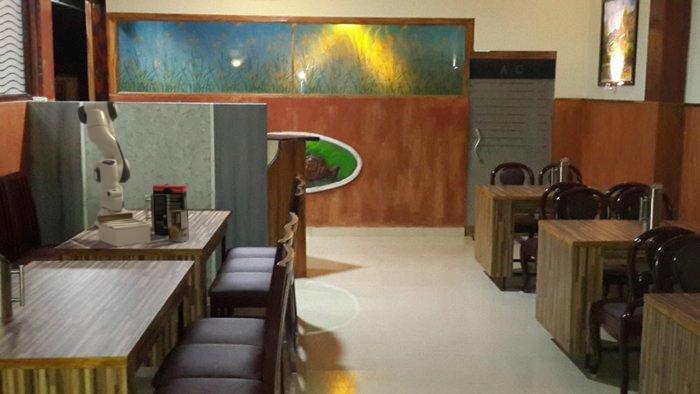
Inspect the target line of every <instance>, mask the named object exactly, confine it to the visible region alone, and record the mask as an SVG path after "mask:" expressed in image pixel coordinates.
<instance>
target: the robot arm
mask: <svg viewBox="0 0 700 394" xmlns="http://www.w3.org/2000/svg"><path fill="white" fill-rule="evenodd" d="M119 110H120V109H119V107H118V104H117V103H116V102H115V101H114V100H107V101H97V102H93V103H88V104H86V105H85V104H84V105H81V106H79V107H78V108H77V112H76V116H77V119H78V120H79V122H80V123H81V124H83V125H86V130H87V131H86V132H87V134H88V138H89V139H88V140H90V142H92V143H93V144H94V145H96V148H97V151H99V152H100V153H101V154H102V155H103V157H104V159H101V160H99V161H97V162H95V163H94V165H93V167H92V169H93V170H92V173H93V176H94V177H93V178H94V181H96V182H97V183H98V184H100V187H101V188H100V189H101V190H100V191H101V193H100V200H99V202H100V206H101V209H100V210H99V212H98V213H97V214H96V216H95V218H96V221H93V224H94V225H95V226H96V227H98V216H104V215H113V214H121V213H128V210H127V209H125V200H124V189H123V186H122V185H121V184H125V183H127V182H128V181H129V180H130V178H131V172H130V168H131V165H130V164H131V163H130V162H129V161H128V159H127V158H125V156H124V153H123V151H122V147H121V145H120V143H119V140H118V139H117V136H116V133H115V131H116V130H115V128H114V124H113V123H114V121H115V120H116V119H117V118H118V116H119Z"/></svg>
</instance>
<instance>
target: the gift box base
mask: <svg viewBox="0 0 700 394" xmlns="http://www.w3.org/2000/svg"><path fill="white" fill-rule="evenodd" d="M97 227H98V240H99V241H101V242H105V243H107V244H108V245H111V246H115V247H116V246H117V247H122V246H124V247H125V246H132V245H139V244H145V243H151V225H150V226H144V227H137V228H129V229H121V230H114V229H111V228H108V227H105V226H103V225H100V224H98V226H97Z"/></svg>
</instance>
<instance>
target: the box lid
mask: <svg viewBox="0 0 700 394" xmlns="http://www.w3.org/2000/svg"><path fill="white" fill-rule="evenodd" d="M133 217H134V216H133V212H132V211H131V212H127V213H121V214H113V215H104V216H98V219H97V221H98V224H100V225H103V226H105V227H108V228H111V229H114V230H121V229H129V228H137V227H144V226H150V227H151V223H150V222H145V221H143V220H139V219H136V218H133Z"/></svg>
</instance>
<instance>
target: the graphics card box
mask: <svg viewBox="0 0 700 394" xmlns="http://www.w3.org/2000/svg"><path fill="white" fill-rule="evenodd" d="M187 201H188V200H187V185H170V184H169V185H167V184H166V185H165V184H160V185H159V184H156V185H152V202H153V234H154V235H156V236H168V218H167V211H170V210H174V209H176V210H188V209H187V208H188V207H187V206H188V205H187V203H188V202H187Z"/></svg>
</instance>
